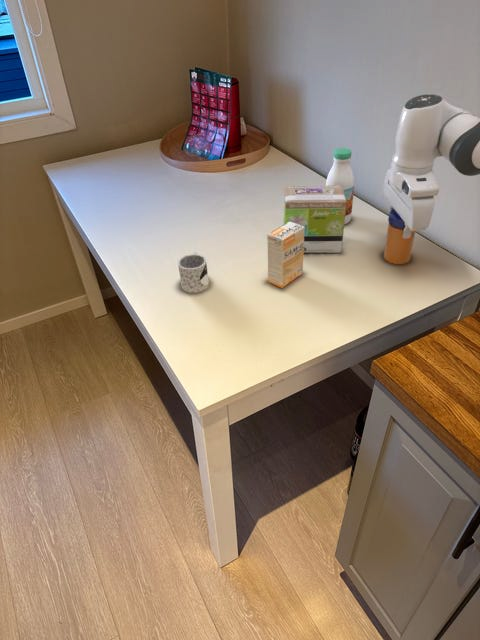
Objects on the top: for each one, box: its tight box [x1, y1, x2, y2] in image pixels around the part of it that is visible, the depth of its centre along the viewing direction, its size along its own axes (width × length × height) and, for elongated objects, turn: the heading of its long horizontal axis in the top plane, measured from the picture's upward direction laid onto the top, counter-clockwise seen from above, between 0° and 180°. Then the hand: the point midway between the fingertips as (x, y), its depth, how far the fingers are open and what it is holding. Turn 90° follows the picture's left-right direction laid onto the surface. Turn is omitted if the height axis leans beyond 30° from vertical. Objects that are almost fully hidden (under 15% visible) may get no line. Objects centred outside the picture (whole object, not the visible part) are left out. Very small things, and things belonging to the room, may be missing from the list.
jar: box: [383, 222, 416, 265], centre depth 119 cm, size 6×6×11 cm
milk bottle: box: [325, 147, 355, 225], centre depth 134 cm, size 8×8×20 cm
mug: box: [177, 252, 210, 294], centre depth 117 cm, size 10×7×7 cm
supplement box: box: [266, 222, 305, 289], centre depth 114 cm, size 8×5×13 cm, turn 137°
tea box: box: [282, 185, 346, 254], centre depth 125 cm, size 15×10×15 cm
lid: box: [387, 209, 405, 228], centre depth 116 cm, size 7×7×2 cm
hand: (399, 229), depth 117 cm, fingers closed on jar, 6 cm apart
